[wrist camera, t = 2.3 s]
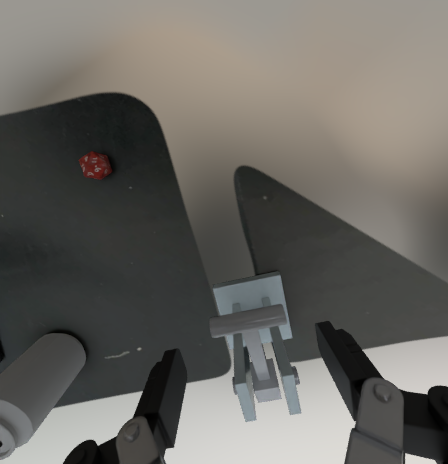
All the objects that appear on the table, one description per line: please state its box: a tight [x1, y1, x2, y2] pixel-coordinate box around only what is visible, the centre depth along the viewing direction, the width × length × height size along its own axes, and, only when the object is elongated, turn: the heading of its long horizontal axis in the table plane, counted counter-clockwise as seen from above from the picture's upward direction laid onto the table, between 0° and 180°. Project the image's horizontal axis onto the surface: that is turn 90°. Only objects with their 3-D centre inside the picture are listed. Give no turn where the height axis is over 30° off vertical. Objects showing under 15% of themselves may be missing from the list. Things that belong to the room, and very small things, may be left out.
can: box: [0, 333, 86, 460], centre depth 28 cm, size 8×8×12 cm
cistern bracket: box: [213, 271, 301, 422], centre depth 25 cm, size 10×9×13 cm
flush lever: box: [209, 304, 287, 402], centre depth 18 cm, size 12×5×2 cm, turn 14°
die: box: [79, 151, 112, 180], centre depth 25 cm, size 3×3×3 cm
